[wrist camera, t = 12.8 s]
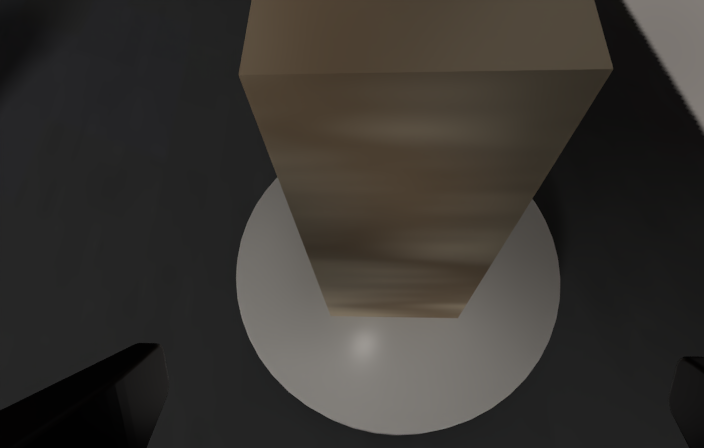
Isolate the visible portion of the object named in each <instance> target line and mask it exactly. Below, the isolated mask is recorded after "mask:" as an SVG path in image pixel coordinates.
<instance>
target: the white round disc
mask: <svg viewBox="0 0 704 448" xmlns="http://www.w3.org/2000/svg"><path fill="white" fill-rule="evenodd" d="M236 284H237V297H238V303H239V308H240V312H241V317H242V320H243V323H244V326H245V328H246V331H247V334H248V337H249V339H250V341H251V343H252V345H253V346H254V348H255V350H256V352H257V354H258V356H259V358H260V359H261V360H262V362H263V363H264V364H265V366H266V367H267V368H268V370H269V371H270V373H271V374H272V375H273V376H274V377H275V378H276V379H277V380H278V381H279V382H280V383H281V384H282V385H283V386H284V388H285V389H286V390H287V391H288V392H290V393H291V394H292V395H294V396H295V397H296V398H297V399H299V400H300V401H301V402H303V403H304V404H305V405H307V406H308V407H310V408H312V409H313V410H315V411H317V412H319V413H321V414H322V415H324V416H326V417H328V418H330V419H332V420H334V421H336V422H338V423H341V424H344V425H346V426H349V427H351V428H354V429H358V430H362V431H366V432H370V433H375V434H385V435H414V434H422V433H427V432H431V431H436V430H441V429H445V428H449V427H452V426H454V425H457V424H460V423H463V422H465V421H468V420H471V419H473V418H474V417H476V416H478V415H480V414H482V413H484V412H486V411H487V410H489V409H491V408H493V407H494V406H495V405H497V404H498V403H499V402H501V401H502V400H503V399H505V398H506V397H507V396H509V395H510V394H511V393H512V392H513V391H514V390H515V389H516V388H517V387H518V386H519V385H520V384H521V383H522V382H523V381H524V380H525V379H526V377H527V376H528V375H529V373H530V372H531V371H532V369H533V368H534V366H535V365H536V364H537V362H538V361H539V359H540V357H541V355H542V353H543V351H544V349H545V347H546V346H547V344H548V342H549V339H550V336H551V333H552V330H553V327H554V324H555V321H556V317H557V311H558V306H559V300H560V272H559V264H558V257H557V253H556V249H555V245H554V241H553V238H552V235H551V233H550V231H549V228H548V226H547V223H546V221H545V219H544V217H543V215H542V214H541V212H540V210H539V208H538V207H537V205H536V203H535V202H534V200H533V199H532V200H531V202H530V203H529V205H528V207H527V208H526V210H525V211H524V213H523V215H522V216H521V218H520V219H519V221H518V223H517V224H516V226H515V227H514V229H513V231H512V232H511V234H510V235H509V237H508V239H507V240H506V242H505V243H504V245H503V247H502V248H501V250H500V251H499V253H498V255H497V256H496V258H495V259H494V261H493V263H492V264H491V266H490V268H489V269H488V271H487V272H486V274H485V276H484V277H483V279H482V280H481V282H480V284H479V285H478V287H477V288H476V290H475V292H474V293H473V295H472V296H471V298H470V300H469V301H468V303H467V304H466V306H465V308H464V309H463V311H462V312H461V314H460V316H459V317H458V318H416V317H355V316H331V315H330V313H329V310H328V308H327V305H326V302H325V300H324V297H323V294H322V292H321V289H320V287H319V284H318V281H317V279H316V276H315V274H314V271H313V268H312V266H311V263H310V260H309V258H308V255H307V253H306V250H305V247H304V245H303V242H302V240H301V237H300V234H299V232H298V229H297V226H296V224H295V221H294V219H293V216H292V213H291V211H290V208H289V206H288V203H287V200H286V198H285V195H284V192H283V190H282V187H281V185H280V182H279V179H278V177H277V178H276V179H275V181H274V182H273V183H272V184H271V185H270V186H269V188H268V189H267V190H266V191H265V193H264V194H263V196H262V197H261V199H260V200H259V202H258V203H257V205H256V206H255V208H254V210H253V212H252V214H251V216H250V218H249V220H248V222H247V225H246V228H245V231H244V234H243V237H242V240H241V244H240V249H239V254H238V259H237V273H236Z"/></svg>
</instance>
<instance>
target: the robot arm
mask: <svg viewBox="0 0 704 448" xmlns="http://www.w3.org/2000/svg"><path fill="white" fill-rule="evenodd" d="M168 390H169V379H168V373H167V367H166V361H165V355H164V351H163V348H162V346H161V345H159V344H157V343H137V344H135V345H132V346H130V347H128V348H126V349H124V350H122V351H120V352H118V353H116V354H114V355H112V356H110V357H108V358H106V359H104V360H102V361H100V362H98V363H96V364H94V365H92V366H90V367H88V368H86V369H84V370H82V371H80V372H78V373H76V374H73V375H71V376H69V377H67V378H65V379H63V380H61V381H59V382H57V383H55V384H53V385H51V386H49V387H47V388H45V389H43V390H41V391H39V392H37V393H35V394H33V395H31V396H29V397H27V398H25V399H23V400H21V401H19V402H17V403H15V404H12V405H10V406H8V407H6V408H4V409H2V410H0V448H147V445H148V443H149V440H150V438H151V435H152V433H153V430H154V427H155V425H156V422H157V420H158V417H159V415H160V412H161V410H162V407H163V405H164V402H165V400H166V397H167V394H168ZM669 407H670V410H671V412H672V415H673V417H674V419H675V420H676V422H677V424H678V426H679V428H680V430H681V432H682V434H683V436H684V438H685V440H686V442H687V444H688V446H689V448H704V357H683V358H681V359H680V360H679V361H678V363H677V365H676V369H675V373H674V377H673V381H672V385H671V389H670V393H669Z"/></svg>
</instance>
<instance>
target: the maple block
mask: <svg viewBox="0 0 704 448" xmlns="http://www.w3.org/2000/svg"><path fill="white" fill-rule="evenodd" d="M612 70H613V66H612V62H611V59H610V55H609V51H608V48H607V44H606V41H605V37H604V34H603V30H602V26H601V23H600V19H599V16H598V12H597V9H596V5H595V1H594V0H252V2H251V8H250V14H249V19H248V25H247V31H246V36H245V42H244V48H243V53H242V59H241V65H240V70H239V77H240V80H241V83H242V85H243V88H244V90H245V93H246V96H247V98H248V101H249V103H250V106H251V109H252V111H253V114H254V117H255V119H256V122H257V124H258V127H259V130H260V132H261V135H262V137H263V140H264V143H265V145H266V148H267V151H268V153H269V156H270V158H271V161H272V164H273V166H274V169H275V171H276V174H277V177H278V179H279V182H280V185H281V187H282V190H283V192H284V195H285V198H286V200H287V203H288V206H289V208H290V211H291V213H292V216H293V219H294V221H295V224H296V226H297V229H298V232H299V234H300V237H301V240H302V242H303V245H304V247H305V250H306V253H307V255H308V258H309V260H310V263H311V266H312V268H313V271H314V274H315V276H316V279H317V281H318V284H319V287H320V289H321V292H322V294H323V297H324V300H325V302H326V305H327V308H328V310H329V313H330V315H331V316H355V317H416V318H458V317H459V316H460V314H461V312H462V311H463V309H464V308H465V306H466V304H467V303H468V301H469V300H470V298H471V296H472V295H473V293H474V292H475V290H476V288H477V287H478V285H479V284H480V282H481V280H482V279H483V277H484V276H485V274H486V272H487V271H488V269H489V268H490V266H491V264H492V263H493V261H494V259H495V258H496V256H497V255H498V253H499V251H500V250H501V248H502V247H503V245H504V243H505V242H506V240H507V239H508V237H509V235H510V234H511V232H512V231H513V229H514V227H515V226H516V224H517V223H518V221H519V219H520V218H521V216H522V215H523V213H524V211H525V210H526V208H527V207H528V205H529V203H530V202H531V200H532V199H533V197H534V195H535V194H536V192H537V191H538V189H539V187H540V186H541V184H542V183H543V181H544V179H545V178H546V176H547V175H548V173H549V171H550V170H551V168H552V167H553V165H554V163H555V162H556V160H557V159H558V157H559V155H560V154H561V152H562V151H563V149H564V147H565V146H566V144H567V143H568V141H569V139H570V138H571V136H572V135H573V133H574V131H575V130H576V128H577V127H578V125H579V123H580V122H581V120H582V119H583V117H584V115H585V114H586V112H587V111H588V109H589V107H590V106H591V104H592V103H593V101H594V99H595V98H596V96H597V95H598V93H599V91H600V90H601V88H602V86H603V85H604V83H605V82H606V80H607V78H608V77H609V75H610V74H611V72H612Z"/></svg>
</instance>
